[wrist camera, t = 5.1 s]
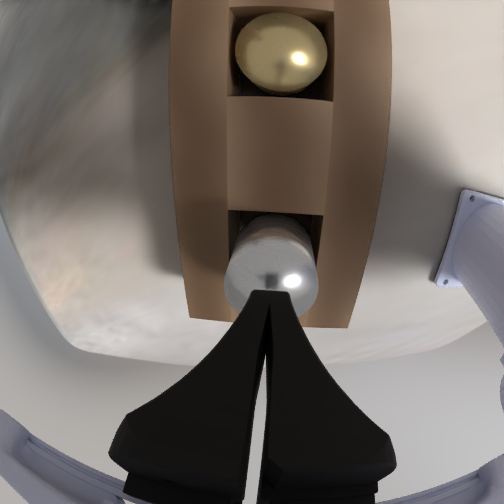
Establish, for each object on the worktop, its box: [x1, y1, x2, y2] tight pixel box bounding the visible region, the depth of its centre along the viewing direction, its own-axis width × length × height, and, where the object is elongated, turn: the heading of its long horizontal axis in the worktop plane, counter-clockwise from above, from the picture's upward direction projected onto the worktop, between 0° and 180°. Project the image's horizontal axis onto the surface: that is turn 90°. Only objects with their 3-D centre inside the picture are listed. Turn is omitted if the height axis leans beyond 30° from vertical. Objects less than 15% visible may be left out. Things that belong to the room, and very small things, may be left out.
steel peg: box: [224, 214, 318, 317], centre depth 13 cm, size 4×4×4 cm
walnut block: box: [169, 0, 392, 328], centre depth 13 cm, size 10×20×4 cm, turn 179°
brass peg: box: [235, 12, 327, 95], centre depth 11 cm, size 4×4×4 cm
